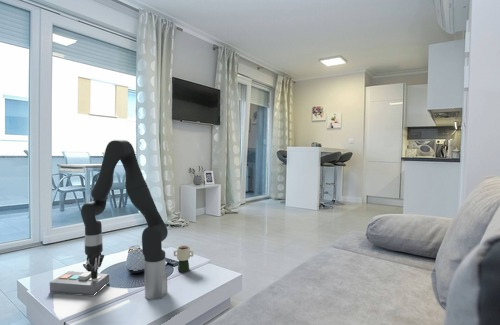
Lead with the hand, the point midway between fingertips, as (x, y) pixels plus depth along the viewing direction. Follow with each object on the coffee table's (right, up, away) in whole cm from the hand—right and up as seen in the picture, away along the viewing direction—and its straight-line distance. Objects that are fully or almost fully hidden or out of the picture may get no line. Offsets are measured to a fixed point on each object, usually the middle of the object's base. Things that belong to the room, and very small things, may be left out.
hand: (94, 278), depth 140 cm
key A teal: (-10, -4, +1) cm, 11 cm away
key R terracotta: (-15, -4, +2) cm, 15 cm away
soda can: (+10, -4, +24) cm, 27 cm away
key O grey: (-5, -2, +1) cm, 5 cm away
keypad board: (-7, -5, +1) cm, 9 cm away
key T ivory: (0, -4, 0) cm, 4 cm away
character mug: (+38, -5, +22) cm, 44 cm away
